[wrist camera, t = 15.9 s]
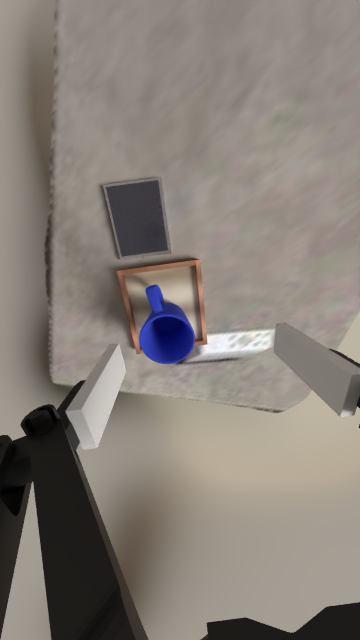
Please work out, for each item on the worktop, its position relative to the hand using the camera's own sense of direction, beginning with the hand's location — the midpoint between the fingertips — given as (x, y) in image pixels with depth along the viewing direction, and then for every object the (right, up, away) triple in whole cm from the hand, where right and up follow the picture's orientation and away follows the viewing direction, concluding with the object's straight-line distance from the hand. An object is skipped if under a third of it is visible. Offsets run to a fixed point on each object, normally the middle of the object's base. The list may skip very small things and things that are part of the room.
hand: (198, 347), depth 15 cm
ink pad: (-8, +19, +15) cm, 26 cm away
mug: (-5, +5, +20) cm, 21 cm away
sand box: (-4, +5, +20) cm, 21 cm away
